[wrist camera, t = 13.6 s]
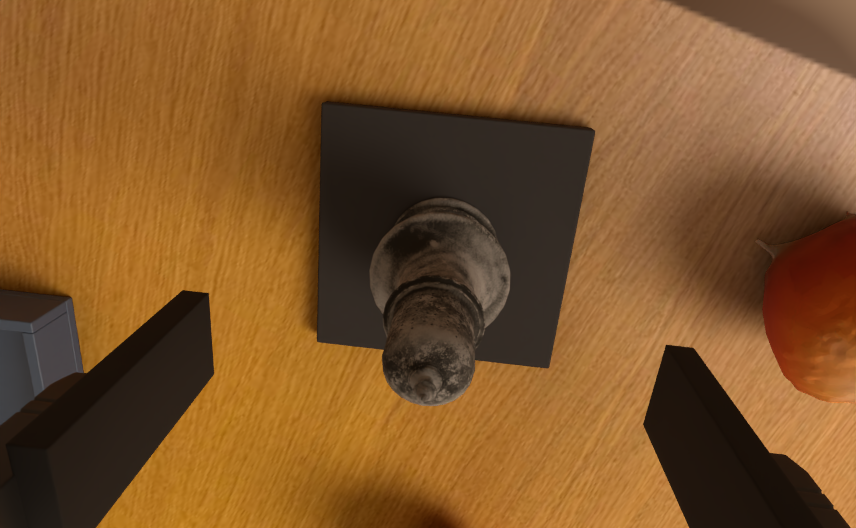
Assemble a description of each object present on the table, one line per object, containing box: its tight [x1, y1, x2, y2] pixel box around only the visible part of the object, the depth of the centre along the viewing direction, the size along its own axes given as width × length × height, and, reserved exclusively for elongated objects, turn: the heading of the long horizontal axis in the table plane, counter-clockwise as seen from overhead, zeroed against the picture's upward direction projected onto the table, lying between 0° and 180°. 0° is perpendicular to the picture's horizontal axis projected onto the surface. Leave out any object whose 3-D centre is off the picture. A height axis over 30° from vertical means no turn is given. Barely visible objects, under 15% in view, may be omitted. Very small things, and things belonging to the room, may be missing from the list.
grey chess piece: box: [369, 198, 510, 406], centre depth 21 cm, size 6×6×12 cm
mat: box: [317, 101, 595, 368], centre depth 27 cm, size 12×12×1 cm
